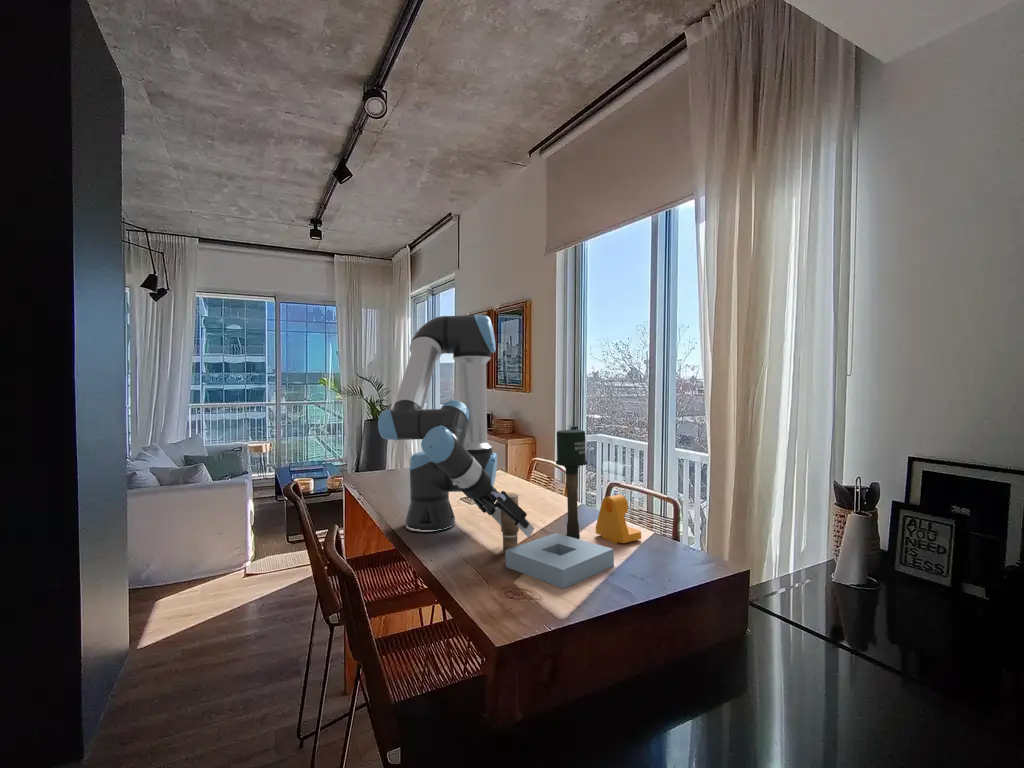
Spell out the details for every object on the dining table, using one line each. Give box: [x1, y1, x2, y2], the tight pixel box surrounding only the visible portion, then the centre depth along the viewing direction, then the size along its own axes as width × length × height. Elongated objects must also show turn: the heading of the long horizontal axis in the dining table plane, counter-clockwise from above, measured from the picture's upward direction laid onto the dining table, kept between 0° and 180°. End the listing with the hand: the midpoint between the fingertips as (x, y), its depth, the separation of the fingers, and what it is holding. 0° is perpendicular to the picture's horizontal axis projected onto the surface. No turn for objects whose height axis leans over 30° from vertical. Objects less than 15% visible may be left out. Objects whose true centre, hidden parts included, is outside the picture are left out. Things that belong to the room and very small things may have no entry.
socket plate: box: [504, 532, 615, 590], centre depth 116 cm, size 18×18×4 cm
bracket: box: [595, 494, 642, 545], centre depth 136 cm, size 11×7×12 cm, turn 31°
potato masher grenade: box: [555, 429, 588, 540], centre depth 135 cm, size 8×9×30 cm
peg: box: [500, 493, 520, 552], centre depth 129 cm, size 5×5×14 cm
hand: (519, 529), depth 131 cm, fingers open, 8 cm apart
